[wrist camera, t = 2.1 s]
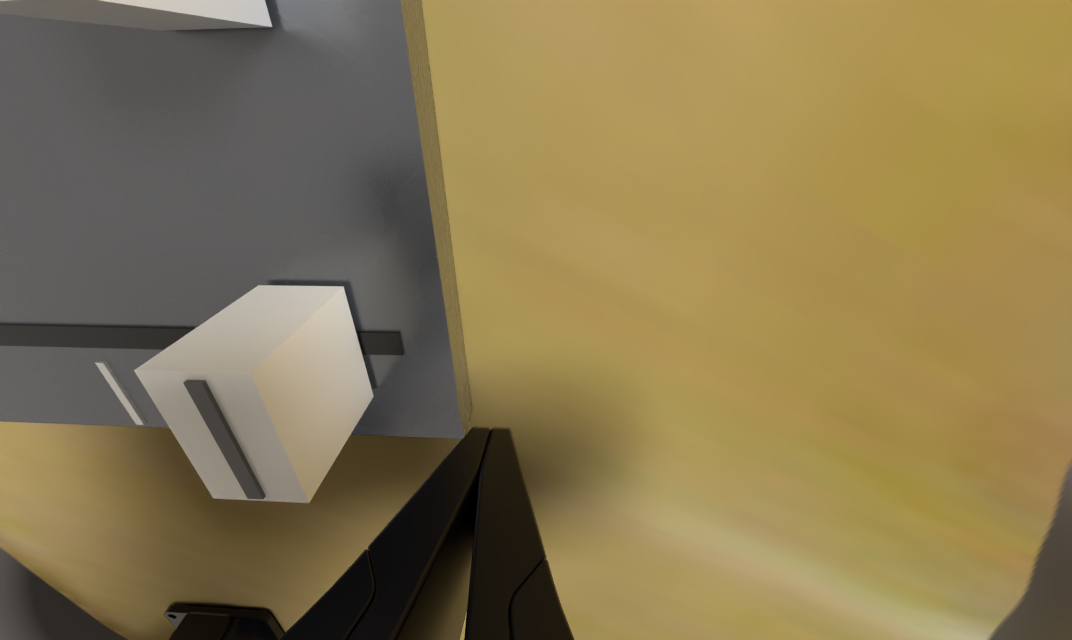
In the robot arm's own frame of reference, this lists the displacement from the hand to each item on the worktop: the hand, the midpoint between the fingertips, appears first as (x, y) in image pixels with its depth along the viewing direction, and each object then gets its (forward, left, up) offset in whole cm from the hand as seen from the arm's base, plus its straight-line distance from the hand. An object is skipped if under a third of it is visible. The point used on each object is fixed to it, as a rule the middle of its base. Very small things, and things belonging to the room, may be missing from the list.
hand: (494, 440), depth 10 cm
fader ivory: (0, +6, -4) cm, 7 cm away
